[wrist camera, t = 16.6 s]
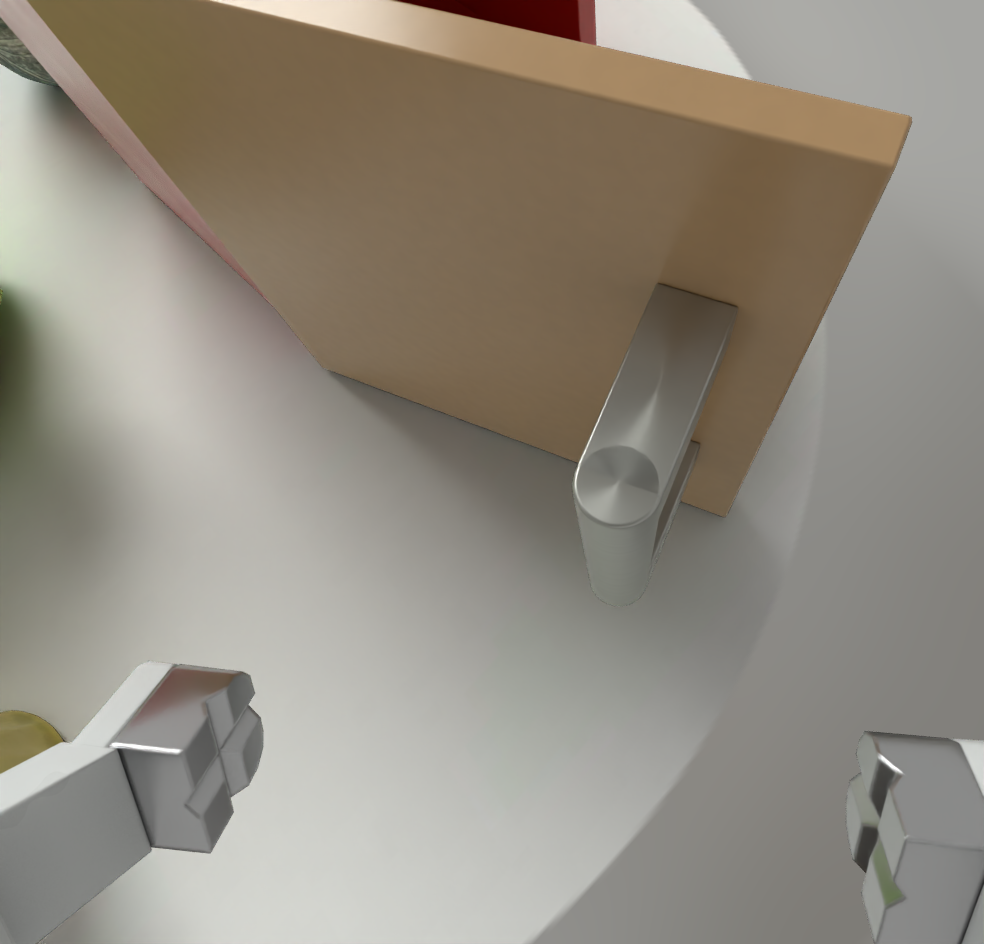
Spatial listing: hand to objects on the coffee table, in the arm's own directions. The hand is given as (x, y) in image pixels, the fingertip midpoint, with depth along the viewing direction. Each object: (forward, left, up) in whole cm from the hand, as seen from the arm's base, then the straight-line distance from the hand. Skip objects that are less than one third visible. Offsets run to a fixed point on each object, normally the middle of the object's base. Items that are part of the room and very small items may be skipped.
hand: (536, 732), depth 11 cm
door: (+9, -4, -19) cm, 21 cm away
